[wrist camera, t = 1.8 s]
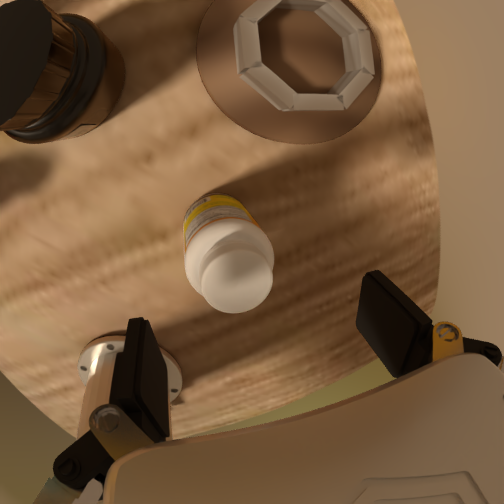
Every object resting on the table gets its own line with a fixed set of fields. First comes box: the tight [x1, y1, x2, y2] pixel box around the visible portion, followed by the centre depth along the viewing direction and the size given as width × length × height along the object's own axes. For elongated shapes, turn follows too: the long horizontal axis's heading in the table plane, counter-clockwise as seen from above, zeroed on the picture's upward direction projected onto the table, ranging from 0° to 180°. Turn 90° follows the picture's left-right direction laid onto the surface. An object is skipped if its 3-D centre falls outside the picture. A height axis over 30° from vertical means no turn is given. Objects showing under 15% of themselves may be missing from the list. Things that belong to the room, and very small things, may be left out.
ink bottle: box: [0, 0, 125, 144], centre depth 11 cm, size 10×9×12 cm
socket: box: [196, 0, 381, 144], centre depth 18 cm, size 16×16×4 cm
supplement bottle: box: [183, 193, 274, 313], centre depth 20 cm, size 6×6×10 cm
